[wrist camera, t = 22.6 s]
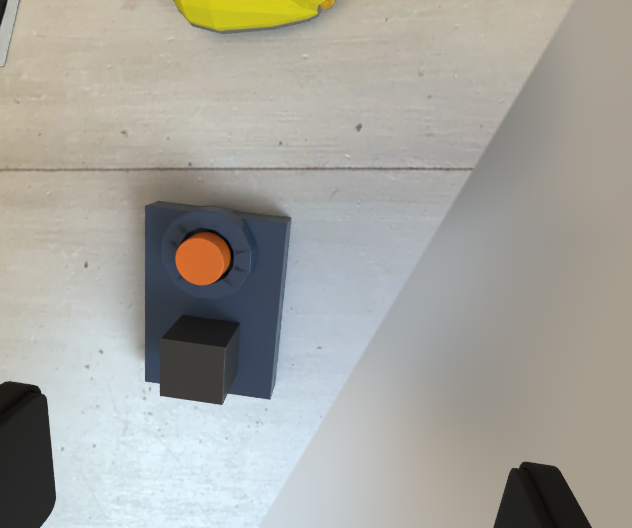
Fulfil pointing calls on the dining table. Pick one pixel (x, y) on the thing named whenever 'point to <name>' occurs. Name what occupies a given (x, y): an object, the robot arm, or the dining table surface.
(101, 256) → the dining table surface
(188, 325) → the block
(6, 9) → the smartphone
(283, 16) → the gaming controller
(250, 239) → the button base
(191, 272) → the power button
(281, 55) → the dining table surface
